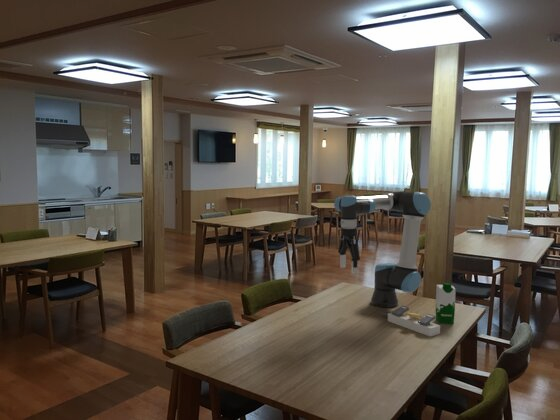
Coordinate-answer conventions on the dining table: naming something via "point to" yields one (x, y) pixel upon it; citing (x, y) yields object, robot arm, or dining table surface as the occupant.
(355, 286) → the dining table surface
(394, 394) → the dining table surface
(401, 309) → the block
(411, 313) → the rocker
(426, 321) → the plate
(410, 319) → the rocker switch panel
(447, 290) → the milk carton
